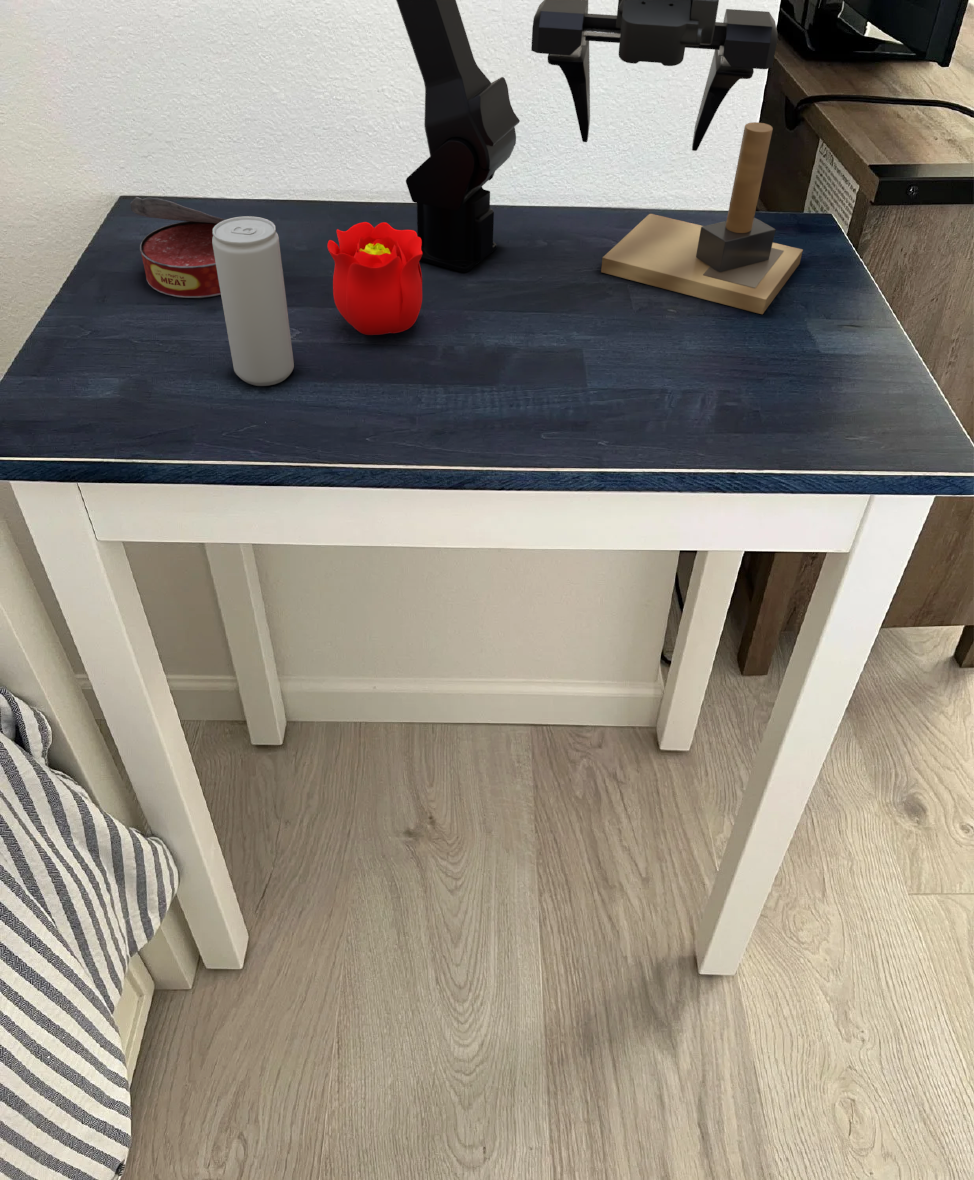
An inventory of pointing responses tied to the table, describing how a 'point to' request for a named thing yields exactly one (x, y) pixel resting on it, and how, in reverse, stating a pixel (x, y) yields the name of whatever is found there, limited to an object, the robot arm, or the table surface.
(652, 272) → the cutting board
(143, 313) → the table surface
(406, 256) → the flower
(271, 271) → the beverage can
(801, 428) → the table surface
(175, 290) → the canned food
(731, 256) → the hammer
